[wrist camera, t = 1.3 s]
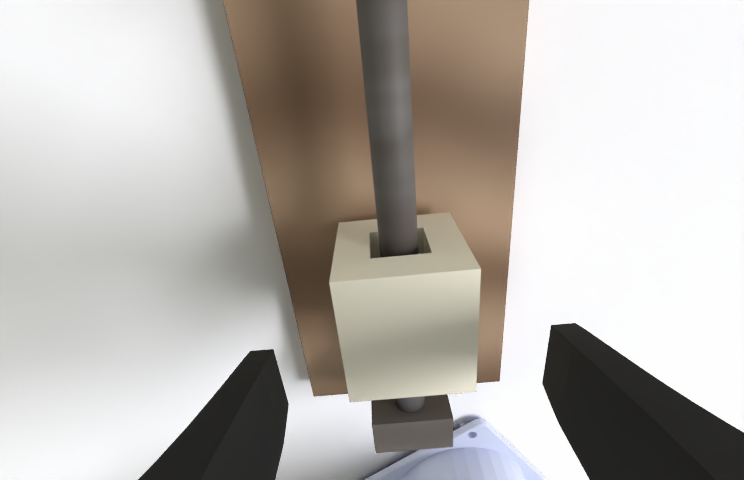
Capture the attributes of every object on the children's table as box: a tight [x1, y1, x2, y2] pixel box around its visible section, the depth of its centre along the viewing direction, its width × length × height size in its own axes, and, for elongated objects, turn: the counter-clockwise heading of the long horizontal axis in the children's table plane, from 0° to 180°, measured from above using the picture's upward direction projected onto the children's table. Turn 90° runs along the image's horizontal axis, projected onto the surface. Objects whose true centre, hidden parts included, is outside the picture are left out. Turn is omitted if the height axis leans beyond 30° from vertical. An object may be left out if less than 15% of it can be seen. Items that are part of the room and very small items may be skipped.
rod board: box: [223, 0, 529, 453], centre depth 11 cm, size 25×9×5 cm, turn 5°
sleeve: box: [329, 212, 481, 402], centre depth 13 cm, size 4×4×4 cm
